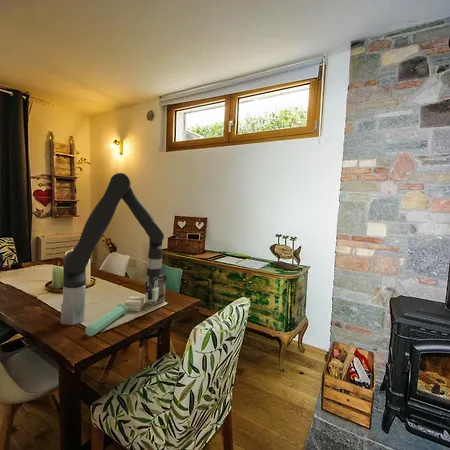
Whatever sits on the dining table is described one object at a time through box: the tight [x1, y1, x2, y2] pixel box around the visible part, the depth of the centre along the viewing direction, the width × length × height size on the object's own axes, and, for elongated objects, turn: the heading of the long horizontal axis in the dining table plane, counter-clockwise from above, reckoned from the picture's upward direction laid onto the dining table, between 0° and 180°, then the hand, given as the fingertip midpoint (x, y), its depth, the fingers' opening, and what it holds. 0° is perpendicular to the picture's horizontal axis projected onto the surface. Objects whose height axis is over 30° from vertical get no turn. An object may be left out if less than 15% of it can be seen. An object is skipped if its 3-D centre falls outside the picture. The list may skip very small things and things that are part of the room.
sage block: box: [144, 287, 159, 302], centre depth 141 cm, size 5×5×6 cm
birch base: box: [124, 296, 145, 312], centre depth 146 cm, size 8×8×5 cm
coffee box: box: [145, 273, 167, 306], centre depth 156 cm, size 9×6×16 cm
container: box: [84, 303, 128, 337], centre depth 125 cm, size 6×6×25 cm
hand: (151, 297), depth 141 cm, fingers closed on sage block, 5 cm apart
